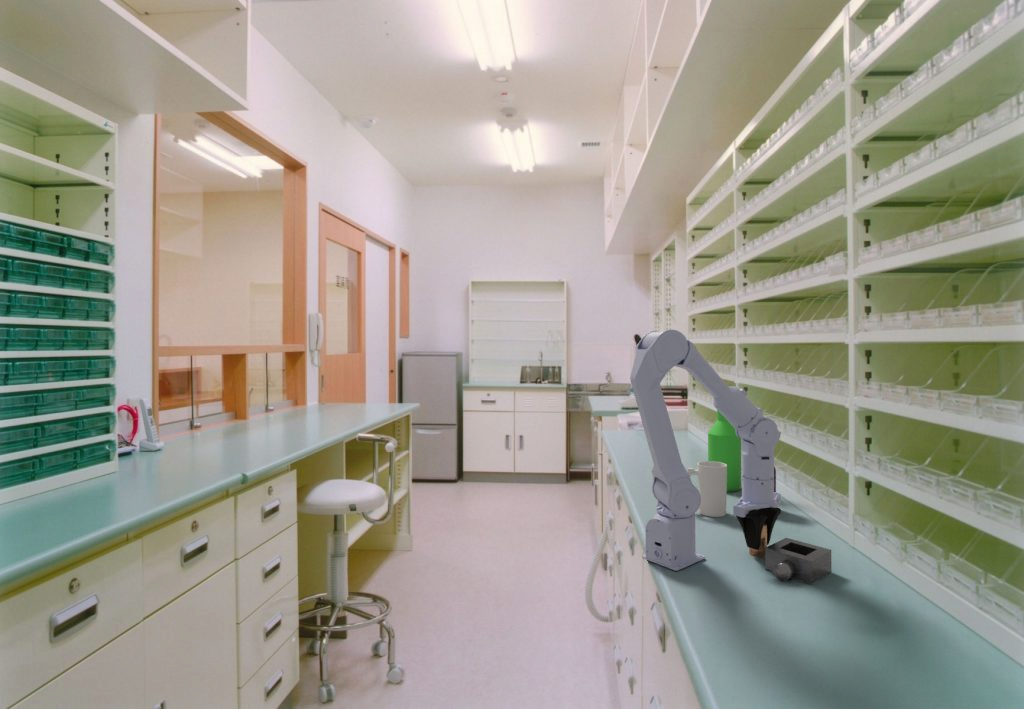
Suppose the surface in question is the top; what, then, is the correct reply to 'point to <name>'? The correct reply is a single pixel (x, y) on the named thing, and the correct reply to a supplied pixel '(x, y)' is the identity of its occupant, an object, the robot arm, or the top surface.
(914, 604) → the top surface
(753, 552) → the tapered valve plug
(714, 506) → the mug
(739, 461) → the bottle
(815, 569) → the valve body
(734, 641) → the top surface
